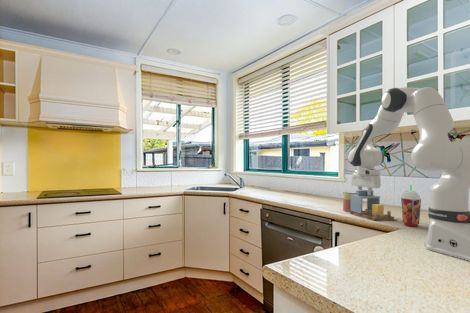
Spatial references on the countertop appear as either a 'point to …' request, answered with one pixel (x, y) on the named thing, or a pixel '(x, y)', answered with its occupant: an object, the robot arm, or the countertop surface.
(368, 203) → the cover
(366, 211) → the peg board
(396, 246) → the countertop surface
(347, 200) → the canned food
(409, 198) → the smoothie
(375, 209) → the yellow block
